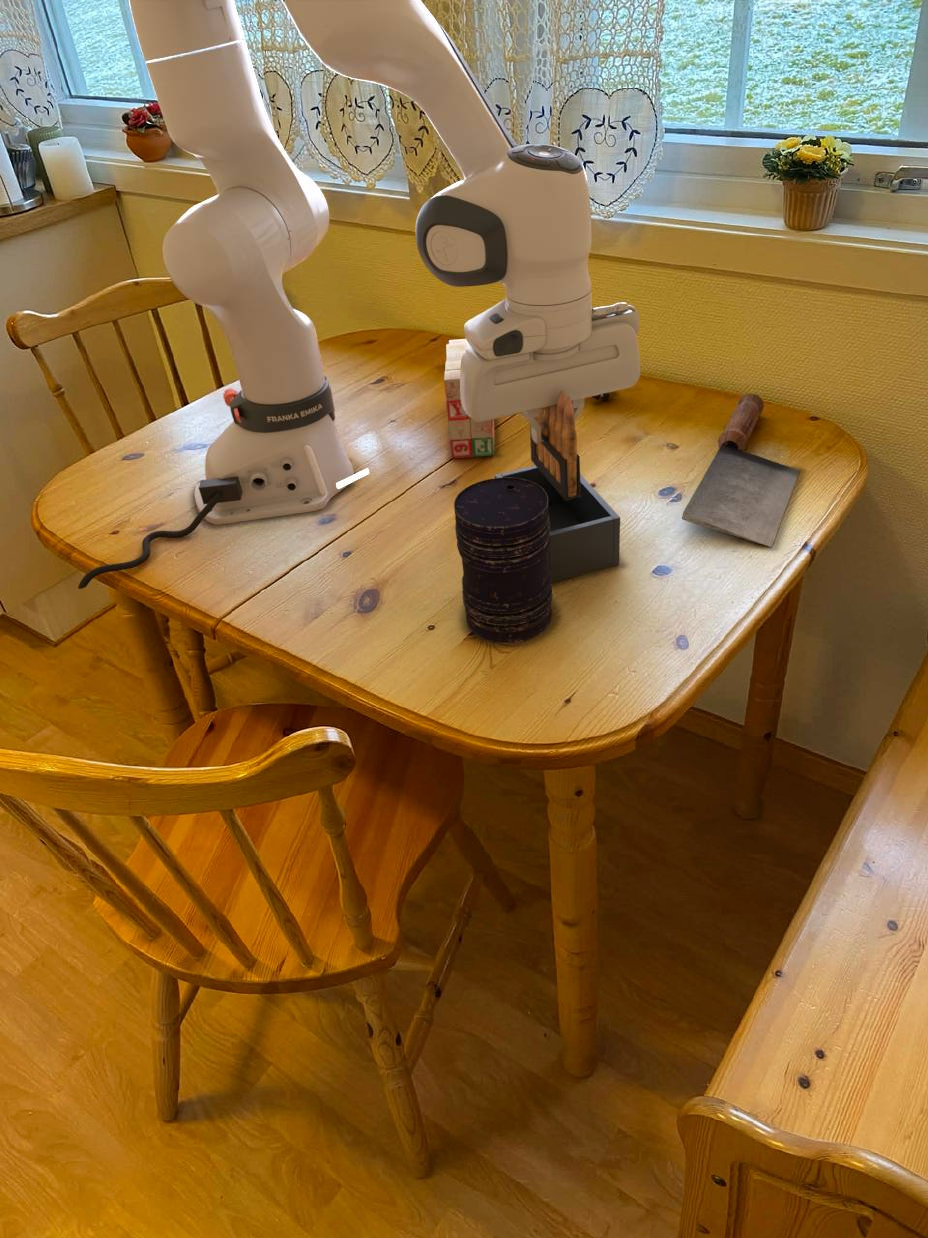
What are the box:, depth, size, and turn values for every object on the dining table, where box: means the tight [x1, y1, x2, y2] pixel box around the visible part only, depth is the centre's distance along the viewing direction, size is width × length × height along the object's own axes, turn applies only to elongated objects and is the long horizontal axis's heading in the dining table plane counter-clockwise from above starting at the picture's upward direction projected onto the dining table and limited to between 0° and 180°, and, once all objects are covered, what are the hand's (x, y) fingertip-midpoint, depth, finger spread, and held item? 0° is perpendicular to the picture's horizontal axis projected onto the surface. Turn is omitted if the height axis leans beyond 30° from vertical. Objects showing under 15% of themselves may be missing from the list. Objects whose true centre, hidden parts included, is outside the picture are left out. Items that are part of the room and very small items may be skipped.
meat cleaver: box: [681, 393, 801, 548], centre depth 122 cm, size 34×11×4 cm, turn 155°
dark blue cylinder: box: [453, 477, 553, 645], centre depth 99 cm, size 10×10×15 cm
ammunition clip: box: [529, 391, 581, 501], centre depth 105 cm, size 11×2×12 cm, turn 18°
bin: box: [494, 464, 621, 584], centre depth 112 cm, size 10×16×7 cm, turn 18°
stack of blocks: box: [443, 338, 495, 459], centre depth 137 cm, size 21×6×12 cm, turn 179°
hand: (553, 437), depth 105 cm, fingers closed on ammunition clip, 2 cm apart
